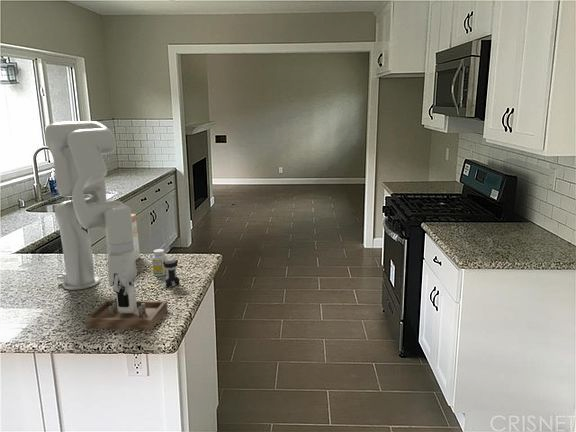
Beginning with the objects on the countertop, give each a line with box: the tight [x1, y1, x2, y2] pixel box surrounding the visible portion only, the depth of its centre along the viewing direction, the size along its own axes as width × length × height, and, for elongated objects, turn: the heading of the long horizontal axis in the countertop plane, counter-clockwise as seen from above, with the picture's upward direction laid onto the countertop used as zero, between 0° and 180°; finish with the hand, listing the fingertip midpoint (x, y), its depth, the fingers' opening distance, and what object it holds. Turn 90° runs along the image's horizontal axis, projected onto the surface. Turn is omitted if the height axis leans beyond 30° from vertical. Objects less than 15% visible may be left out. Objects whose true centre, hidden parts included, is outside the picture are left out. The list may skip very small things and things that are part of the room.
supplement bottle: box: [151, 248, 167, 277], centre depth 186 cm, size 5×5×10 cm
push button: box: [160, 257, 180, 288], centre depth 174 cm, size 7×5×10 cm
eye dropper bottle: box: [115, 283, 137, 313], centre depth 147 cm, size 4×6×12 cm
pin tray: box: [84, 299, 168, 331], centre depth 148 cm, size 20×14×4 cm
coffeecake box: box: [104, 213, 141, 261], centre depth 200 cm, size 15×7×20 cm, turn 172°
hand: (126, 303), depth 147 cm, fingers closed on eye dropper bottle, 3 cm apart
